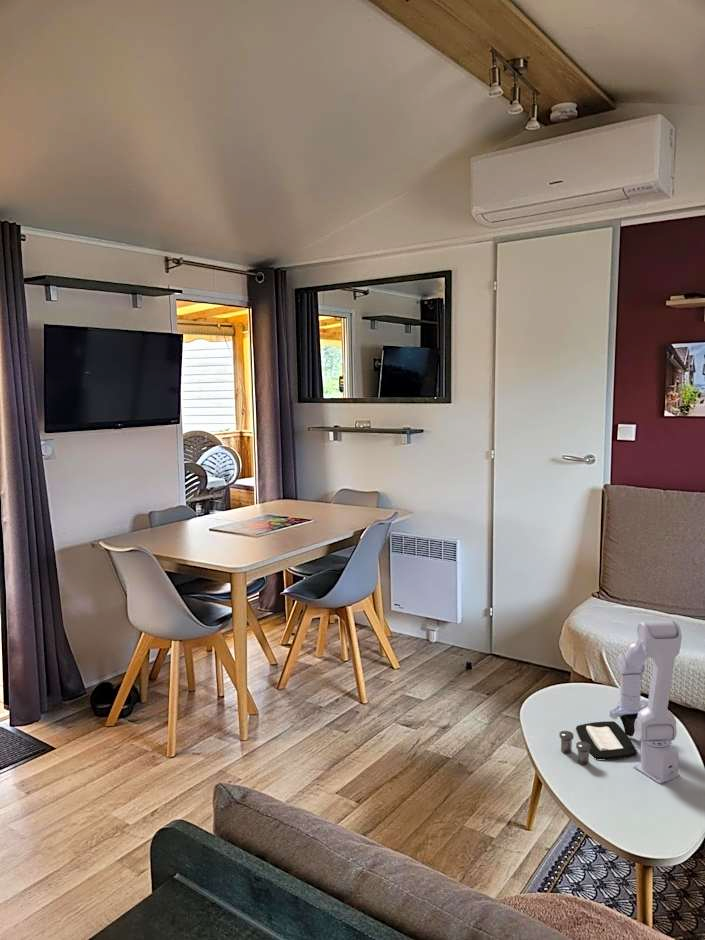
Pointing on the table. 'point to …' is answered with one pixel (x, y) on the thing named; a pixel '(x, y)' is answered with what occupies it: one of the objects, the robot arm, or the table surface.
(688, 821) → the table surface
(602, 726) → the light switch
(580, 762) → the metal bosses
